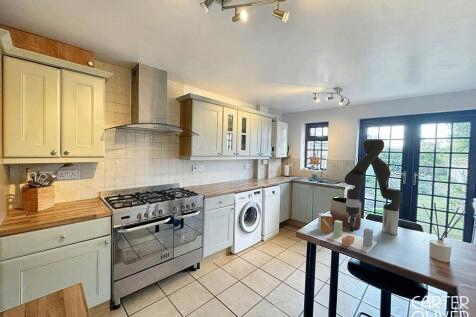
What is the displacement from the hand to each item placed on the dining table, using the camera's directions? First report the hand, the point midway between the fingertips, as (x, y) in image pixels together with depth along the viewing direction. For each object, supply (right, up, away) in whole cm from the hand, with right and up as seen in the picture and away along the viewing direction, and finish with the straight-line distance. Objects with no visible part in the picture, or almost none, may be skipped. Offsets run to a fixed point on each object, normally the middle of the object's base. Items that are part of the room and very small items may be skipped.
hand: (351, 231), depth 131 cm
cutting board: (+1, -8, +3) cm, 8 cm away
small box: (-10, -7, +17) cm, 21 cm away
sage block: (-5, -6, +9) cm, 12 cm away
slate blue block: (+8, -7, -4) cm, 11 cm away
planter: (+13, -7, +34) cm, 37 cm away
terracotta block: (0, -5, +1) cm, 5 cm away
